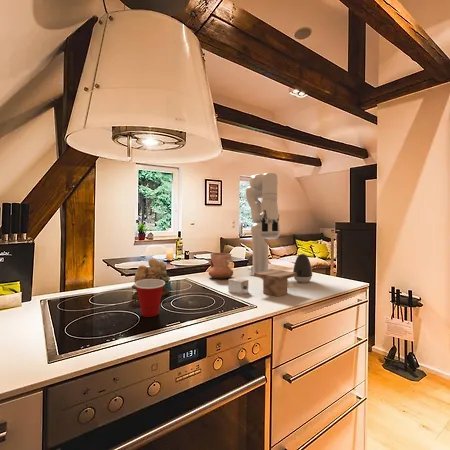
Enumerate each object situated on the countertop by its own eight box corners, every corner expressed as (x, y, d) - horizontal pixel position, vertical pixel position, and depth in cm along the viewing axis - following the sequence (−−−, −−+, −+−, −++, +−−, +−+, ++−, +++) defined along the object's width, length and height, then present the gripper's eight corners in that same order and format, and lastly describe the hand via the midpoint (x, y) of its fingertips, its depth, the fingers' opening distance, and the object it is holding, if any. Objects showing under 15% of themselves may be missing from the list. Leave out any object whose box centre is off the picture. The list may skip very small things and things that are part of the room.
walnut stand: (254, 293, 131) (254, 273, 131) (271, 287, 142) (271, 268, 141) (280, 299, 122) (280, 277, 122) (296, 292, 132) (296, 272, 132)
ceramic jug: (239, 278, 164) (239, 253, 164) (219, 281, 155) (218, 255, 155) (221, 274, 178) (221, 251, 178) (201, 276, 170) (201, 253, 170)
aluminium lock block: (228, 292, 135) (228, 279, 135) (235, 289, 138) (235, 277, 138) (242, 295, 129) (242, 282, 129) (249, 293, 133) (249, 280, 132)
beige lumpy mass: (163, 289, 140) (163, 255, 139) (176, 294, 131) (176, 257, 130) (127, 296, 128) (127, 258, 128) (138, 302, 119) (138, 261, 119)
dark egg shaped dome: (310, 279, 160) (310, 252, 159) (314, 284, 149) (314, 255, 149) (291, 279, 161) (291, 252, 160) (294, 283, 150) (294, 255, 150)
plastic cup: (137, 322, 96) (137, 286, 96) (132, 312, 106) (131, 280, 106) (169, 316, 101) (168, 283, 101) (161, 308, 111) (160, 277, 111)
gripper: (272, 199, 154) (272, 231, 153) (254, 197, 140) (254, 231, 140) (284, 198, 149) (284, 231, 149) (267, 195, 135) (267, 231, 135)
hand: (270, 231), depth 144 cm, fingers open, 9 cm apart
